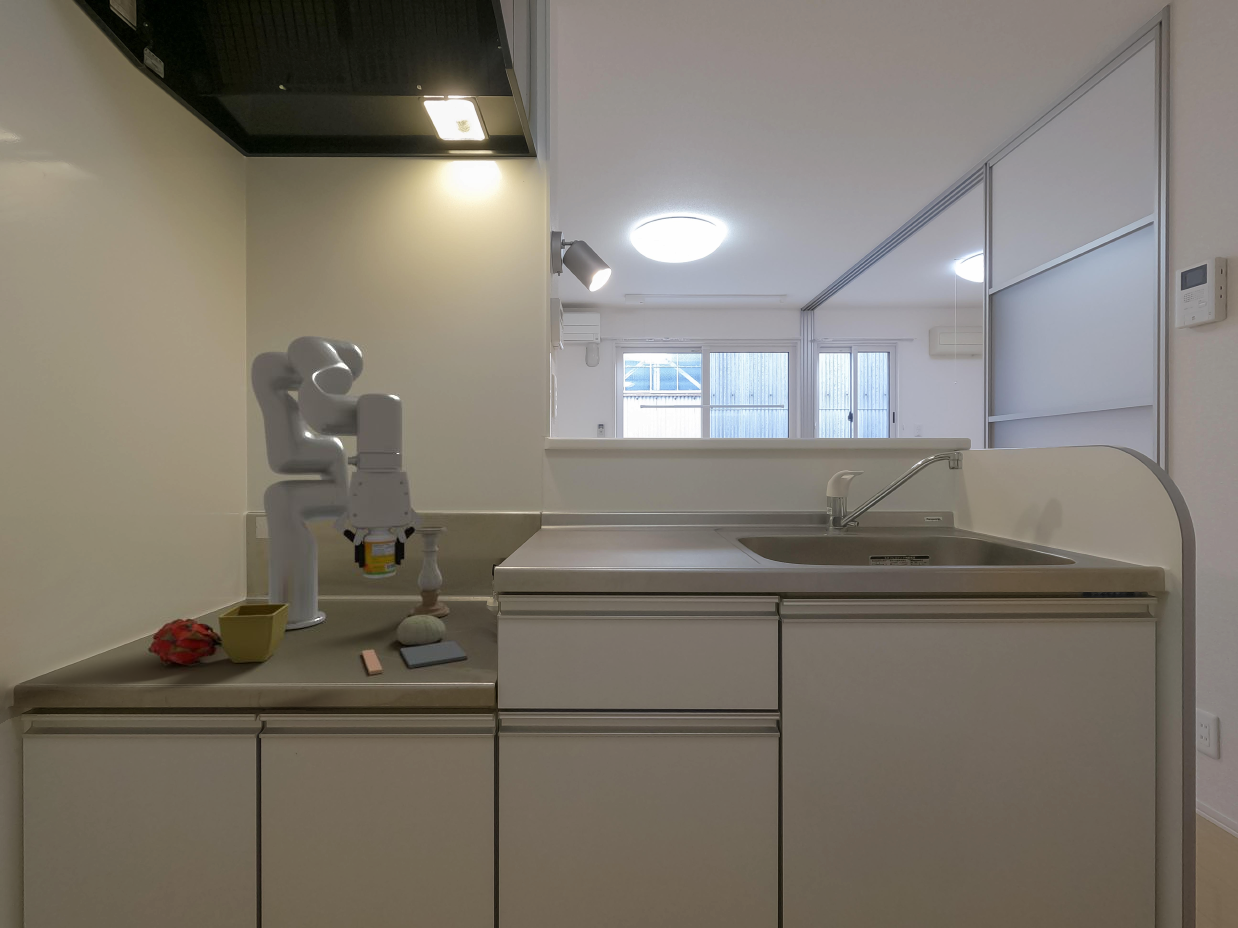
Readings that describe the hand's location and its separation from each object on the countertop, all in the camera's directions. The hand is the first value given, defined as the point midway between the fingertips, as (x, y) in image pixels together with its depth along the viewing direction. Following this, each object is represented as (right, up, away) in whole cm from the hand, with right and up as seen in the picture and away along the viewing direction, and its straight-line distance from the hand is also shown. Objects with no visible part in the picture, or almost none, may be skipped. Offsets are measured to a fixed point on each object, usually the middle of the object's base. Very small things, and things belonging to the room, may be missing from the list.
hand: (379, 564), depth 104 cm
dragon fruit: (-34, -18, 0) cm, 39 cm away
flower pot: (-24, -18, +2) cm, 30 cm away
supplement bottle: (0, -2, 0) cm, 2 cm away
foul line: (-1, -18, 0) cm, 18 cm away
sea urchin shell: (+3, -18, +13) cm, 23 cm away
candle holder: (-2, -18, +33) cm, 38 cm away
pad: (+8, -18, +4) cm, 20 cm away
